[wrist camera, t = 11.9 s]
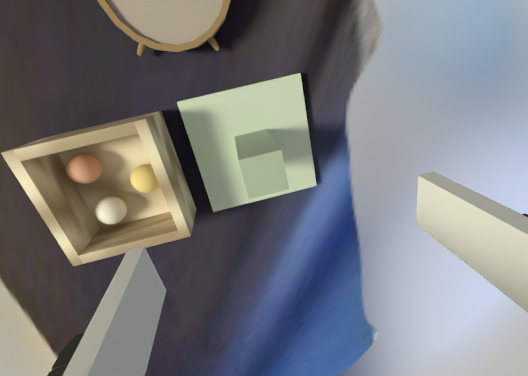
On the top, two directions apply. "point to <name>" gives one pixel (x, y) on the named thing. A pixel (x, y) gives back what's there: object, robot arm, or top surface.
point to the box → (107, 187)
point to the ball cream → (110, 210)
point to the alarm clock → (168, 22)
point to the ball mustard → (144, 178)
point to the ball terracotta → (83, 168)
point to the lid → (251, 141)
